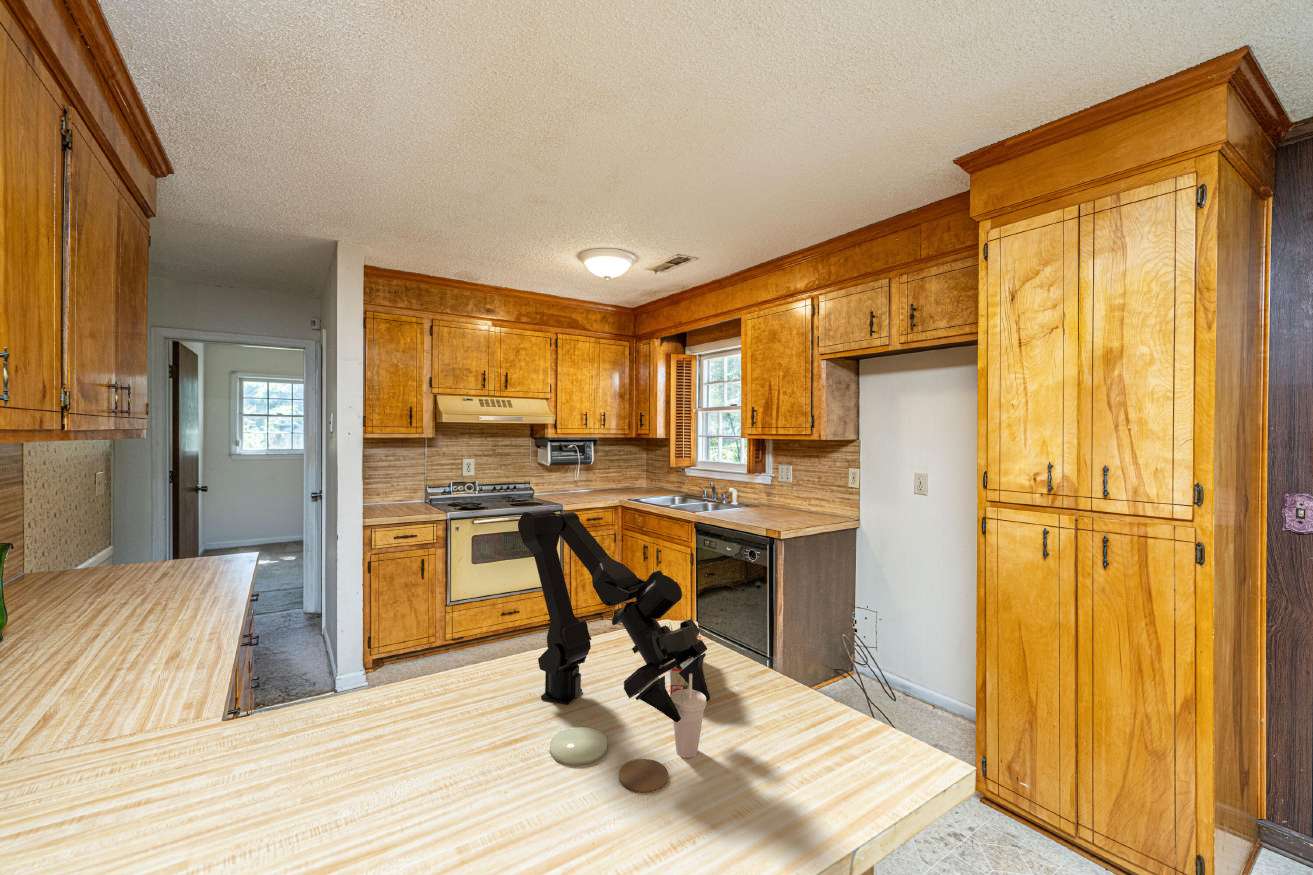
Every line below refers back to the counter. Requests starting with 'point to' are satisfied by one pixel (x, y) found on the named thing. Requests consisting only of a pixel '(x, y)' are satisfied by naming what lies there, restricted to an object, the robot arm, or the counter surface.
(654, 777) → the disc
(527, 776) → the counter surface
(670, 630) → the robot arm
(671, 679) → the stack of blocks
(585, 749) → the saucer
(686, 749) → the smoothie
